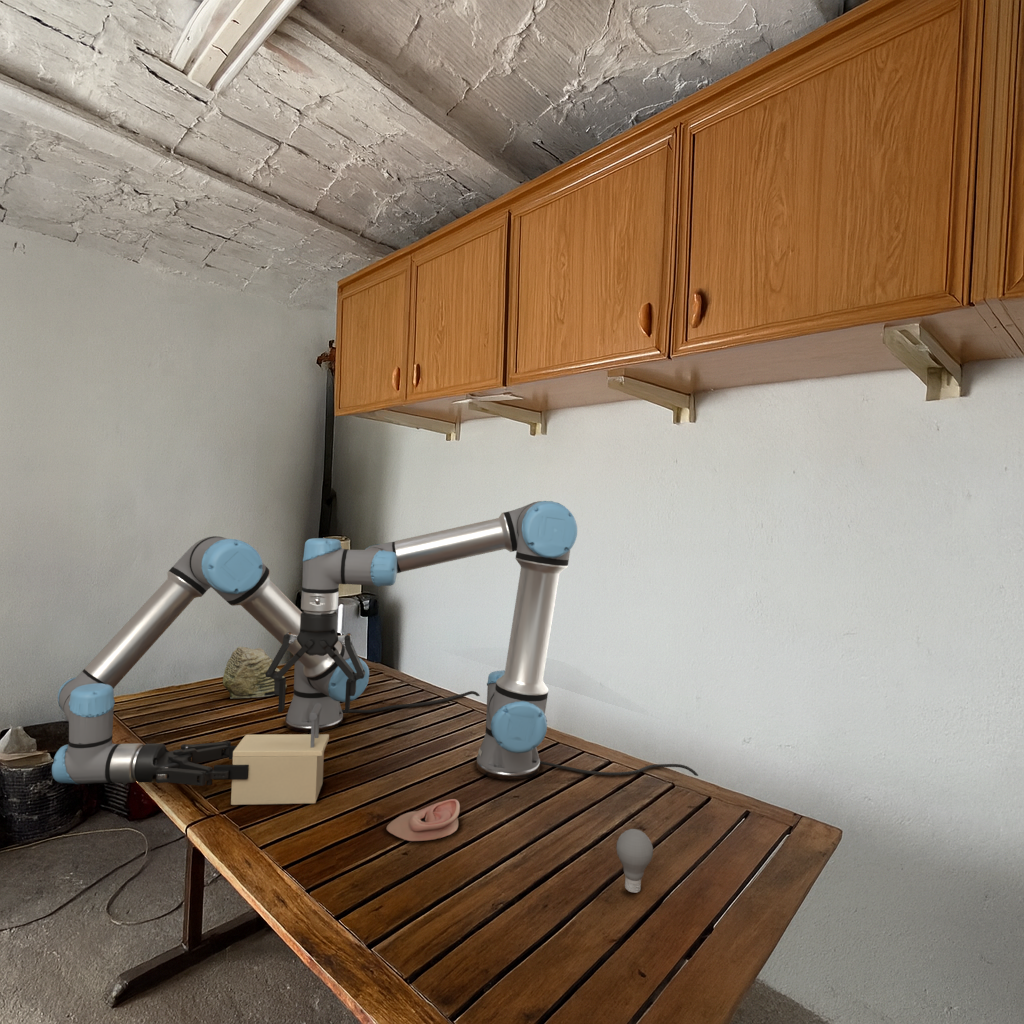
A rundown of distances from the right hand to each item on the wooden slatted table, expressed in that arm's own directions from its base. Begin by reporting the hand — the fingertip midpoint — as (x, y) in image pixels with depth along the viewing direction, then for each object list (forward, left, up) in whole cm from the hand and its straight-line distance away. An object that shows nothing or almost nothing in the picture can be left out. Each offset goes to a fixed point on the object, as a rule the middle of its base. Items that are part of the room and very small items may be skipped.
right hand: (314, 710), depth 135 cm
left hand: (+12, -3, -11) cm, 16 cm away
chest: (+7, -1, -18) cm, 19 cm away
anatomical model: (-20, +21, -18) cm, 34 cm away
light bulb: (-48, +50, -18) cm, 72 cm away
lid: (+6, -1, -8) cm, 10 cm away
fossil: (+13, -72, -18) cm, 75 cm away
